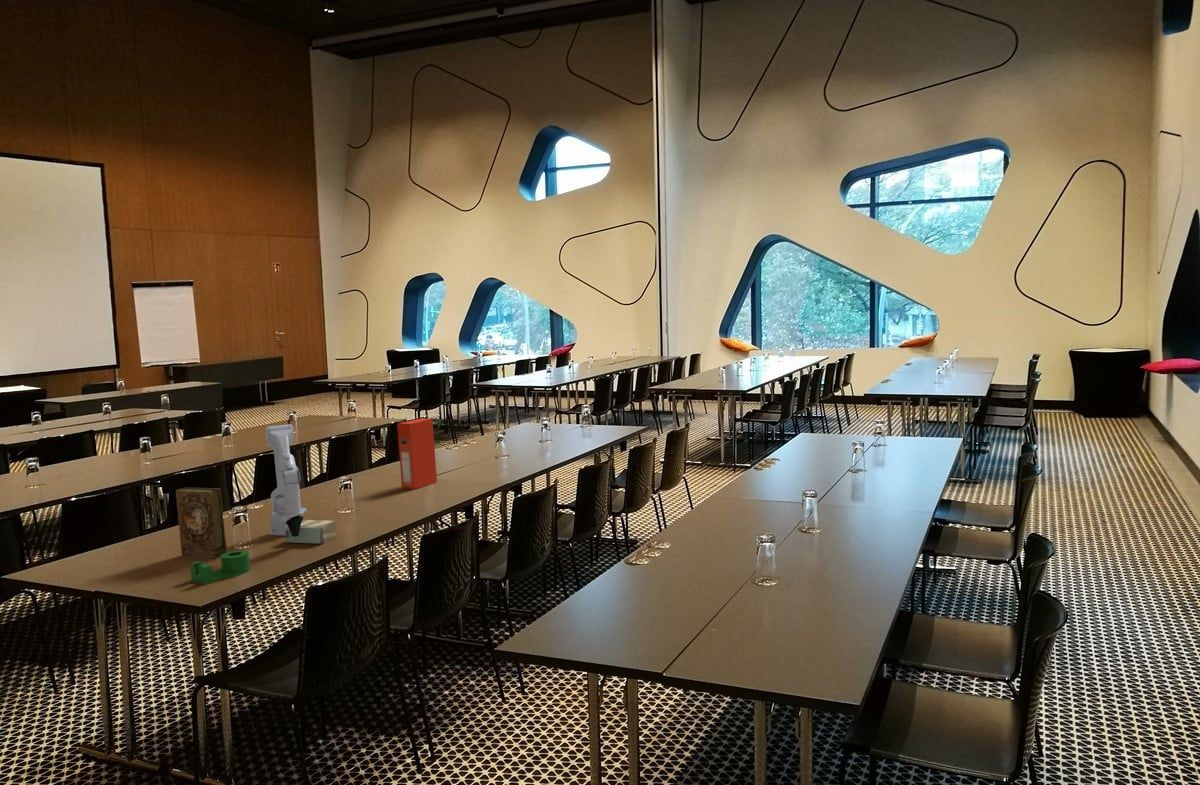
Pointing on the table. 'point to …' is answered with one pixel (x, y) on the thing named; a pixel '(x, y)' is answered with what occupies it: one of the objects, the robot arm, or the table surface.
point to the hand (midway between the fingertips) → (295, 536)
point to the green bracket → (230, 564)
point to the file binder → (417, 453)
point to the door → (305, 535)
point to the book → (201, 522)
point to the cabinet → (327, 528)
